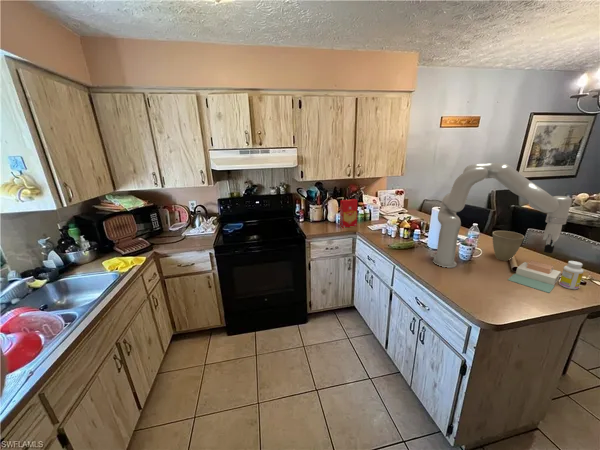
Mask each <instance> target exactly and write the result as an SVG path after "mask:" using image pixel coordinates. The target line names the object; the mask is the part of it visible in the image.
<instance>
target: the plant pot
mask: <svg viewBox="0 0 600 450" xmlns="http://www.w3.org/2000/svg"><path fill="white" fill-rule="evenodd" d="M524 240H525V236H524V235H523V234H521V233H518V232H515V231H510V230H509V231H508V230H495V231H492V246H493V253H494V256H495V258H496V259H497V260H499V261H505V262H508V260H509V259H510V258H512V257H513V258H514V257H515V255H516V254H517V252H518V251H519V250H520V247H521V245H522V243H523V241H524ZM513 258H512V259H513Z"/></svg>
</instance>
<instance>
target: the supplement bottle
mask: <svg viewBox="0 0 600 450" xmlns="http://www.w3.org/2000/svg"><path fill="white" fill-rule="evenodd" d="M582 267H583V263H582V262H580V261H576V260H575V261H574V260H568V262H567V265H565V266H563V268H562V271H561V274H560V278H559V285H560V286H561V287H563V288H565V289H569V290H578V289H579V287H580V286H581V282H582V278H583V275H584V269H583V268H582Z"/></svg>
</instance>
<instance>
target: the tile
mask: <svg viewBox="0 0 600 450" xmlns="http://www.w3.org/2000/svg"><path fill="white" fill-rule="evenodd" d="M527 263H528V264H527V268H529V269H533V270H536V271H540V272H544V273H547V274H550V273H551V272H552V270H554V266H553V265H550V264H548V263H547V264H546V263H542V262H538V261H535V260H530V261H528V262H527Z"/></svg>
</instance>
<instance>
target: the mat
mask: <svg viewBox="0 0 600 450" xmlns="http://www.w3.org/2000/svg"><path fill="white" fill-rule="evenodd" d="M507 281H508V282H509V281H510V282H511V283H512V282H513V283H515V284H519V285H522V286H525V287H528V288H530V289H531V288H532V289H534V290H537V291H541V292H544V293H547V294H550V293H551V292H552V290H553V289H554V288H555V286H556V285H555V284H554V285H551V284H548V283H544V282H541V281H538V280H534V279H531V278H527V277H524V276H521V275H517V274H516V273H513V274H512V275H511V276H510V277H509V278H507Z"/></svg>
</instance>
